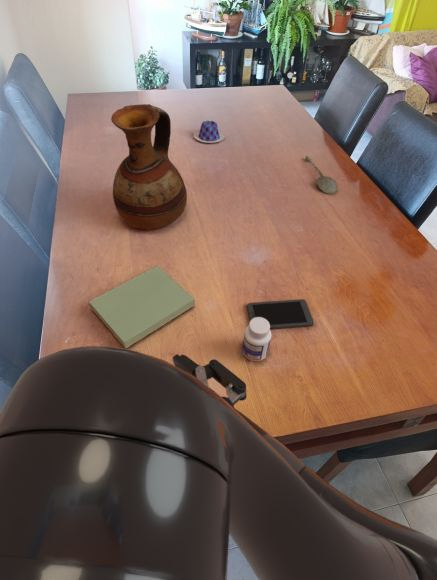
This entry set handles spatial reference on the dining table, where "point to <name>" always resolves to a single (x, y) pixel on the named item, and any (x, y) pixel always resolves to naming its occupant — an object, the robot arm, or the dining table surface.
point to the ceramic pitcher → (147, 170)
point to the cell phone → (282, 313)
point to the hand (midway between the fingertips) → (150, 380)
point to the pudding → (209, 132)
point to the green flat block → (141, 305)
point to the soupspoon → (324, 181)
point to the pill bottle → (257, 339)
